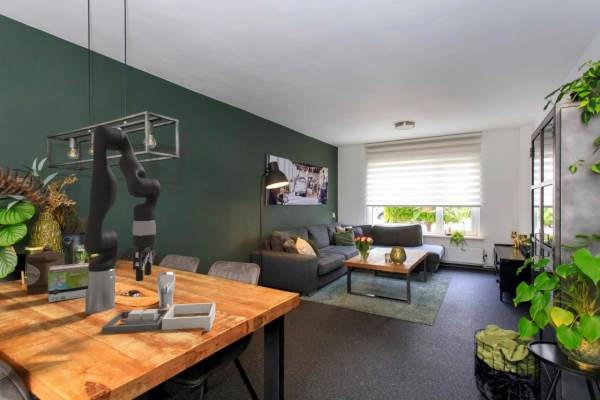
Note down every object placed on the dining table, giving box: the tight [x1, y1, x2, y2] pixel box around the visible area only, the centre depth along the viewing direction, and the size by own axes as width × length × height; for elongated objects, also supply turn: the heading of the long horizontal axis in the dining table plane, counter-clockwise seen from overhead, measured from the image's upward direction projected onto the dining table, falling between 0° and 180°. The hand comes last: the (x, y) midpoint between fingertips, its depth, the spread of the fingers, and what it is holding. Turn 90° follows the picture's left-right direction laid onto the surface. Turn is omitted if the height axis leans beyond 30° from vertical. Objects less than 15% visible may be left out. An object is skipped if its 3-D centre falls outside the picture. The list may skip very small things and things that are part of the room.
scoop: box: [120, 314, 162, 325], centre depth 107 cm, size 12×6×2 cm, turn 99°
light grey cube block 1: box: [127, 309, 145, 321], centre depth 107 cm, size 4×4×4 cm
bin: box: [161, 302, 216, 332], centre depth 110 cm, size 16×15×5 cm
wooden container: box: [26, 245, 66, 295], centre depth 150 cm, size 15×15×22 cm
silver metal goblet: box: [156, 270, 176, 309], centre depth 125 cm, size 7×7×15 cm
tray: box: [101, 308, 170, 334], centre depth 107 cm, size 18×15×3 cm
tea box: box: [47, 262, 90, 303], centre depth 139 cm, size 15×10×15 cm
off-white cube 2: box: [142, 308, 159, 320], centre depth 107 cm, size 4×4×4 cm
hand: (143, 277), depth 107 cm, fingers open, 8 cm apart
